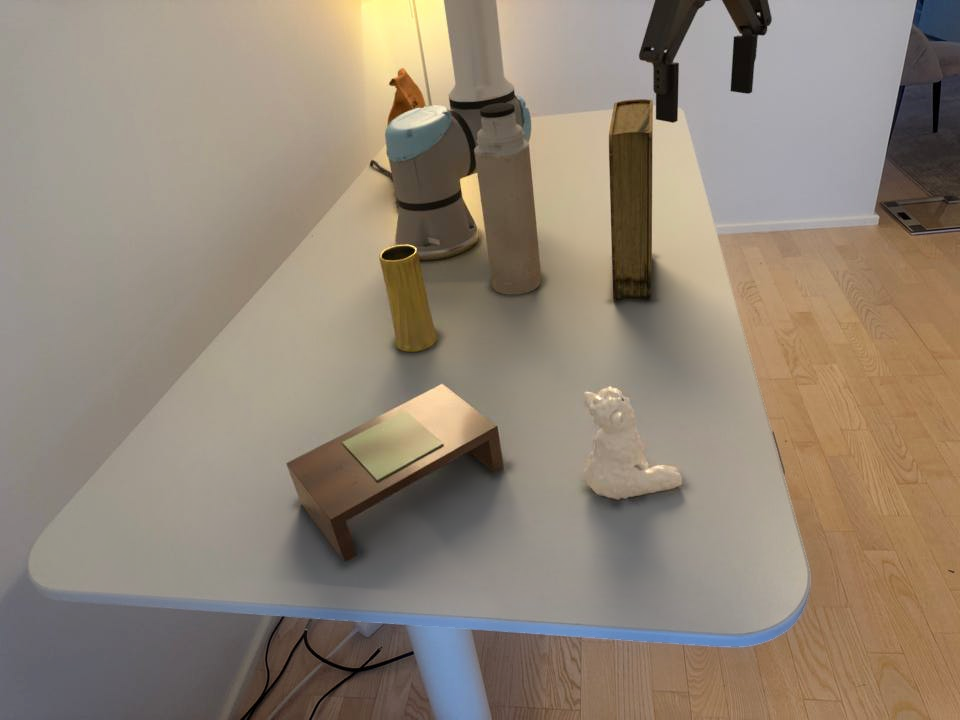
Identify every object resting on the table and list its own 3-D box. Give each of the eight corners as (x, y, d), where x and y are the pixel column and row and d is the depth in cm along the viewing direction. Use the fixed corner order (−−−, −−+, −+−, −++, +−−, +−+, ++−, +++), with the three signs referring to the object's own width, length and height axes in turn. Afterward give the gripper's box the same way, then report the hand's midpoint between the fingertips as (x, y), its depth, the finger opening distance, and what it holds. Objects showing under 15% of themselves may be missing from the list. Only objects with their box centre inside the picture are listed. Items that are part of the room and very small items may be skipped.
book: (618, 254, 120) (614, 101, 106) (651, 253, 118) (652, 98, 105) (613, 303, 107) (608, 135, 93) (651, 303, 105) (652, 132, 92)
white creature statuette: (686, 486, 74) (690, 393, 67) (623, 526, 71) (621, 432, 64) (623, 441, 81) (621, 353, 74) (563, 475, 78) (555, 386, 71)
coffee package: (389, 181, 165) (369, 82, 153) (402, 163, 175) (384, 68, 163) (431, 178, 163) (413, 78, 151) (442, 160, 173) (426, 64, 161)
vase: (396, 333, 107) (376, 246, 100) (436, 327, 107) (420, 240, 100) (395, 355, 102) (374, 266, 94) (438, 349, 102) (420, 258, 94)
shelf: (300, 503, 79) (285, 461, 76) (450, 423, 88) (442, 381, 84) (344, 562, 71) (329, 518, 68) (503, 467, 80) (497, 424, 77)
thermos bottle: (504, 269, 120) (483, 98, 105) (548, 273, 117) (533, 97, 102) (484, 292, 115) (459, 114, 99) (530, 297, 111) (511, 114, 96)
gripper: (658, -83, 68) (656, 138, 80) (817, -116, 79) (795, 84, 91) (603, -79, 74) (609, 128, 86) (758, -110, 84) (745, 77, 96)
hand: (705, 105), depth 88 cm, fingers open, 13 cm apart
